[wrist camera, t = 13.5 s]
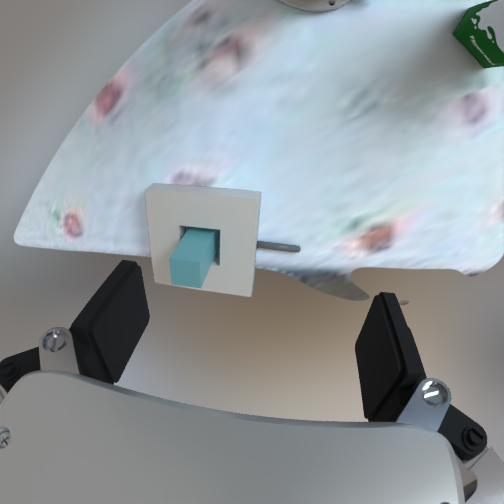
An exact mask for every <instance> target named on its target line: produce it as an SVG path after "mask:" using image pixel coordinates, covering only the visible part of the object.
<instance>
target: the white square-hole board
mask: <svg viewBox="0 0 504 504" xmlns="http://www.w3.org/2000/svg"><path fill="white" fill-rule="evenodd" d="M145 201H146V212H147V223H148V233H149V242H150V250H151V258H152V266H153V273H154V280H155V283H159V284H165V285H171V286H178V287H184V288H191V289H197V290H204V291H211V292H218V293H225V294H233V295H240V296H248V297H251V295H252V290H253V283H254V273H255V262H256V250H257V248H264V249H272V250H280V251H289V252H300V250H301V248H300V247H299V246H296V245H288V244H279V243H271V242H262V241H257V238H258V227H259V215H260V203H261V192H258V191H248V190H238V189H227V188H215V187H203V186H189V185H174V184H156V183H153V184H152V185H151V186H149V187H148V188H147V189H145ZM186 226H189V227H199V228H208V229H217V230H220V255H215V257H214V259H213V261H212V264H211V266H210V268H209V271H208V273H207V275H206V278H205V280H204V283H203V285H202V287H201V288H194V287H187V286H180V285H173V284H172V283H171V275H170V266H169V257H170V256H171V254H172V253H173V251H174V250H175V248H176V247H177V245H178V244H179V242H180V241H181V239H182V238H183V236H184V235H185V233H186Z"/></svg>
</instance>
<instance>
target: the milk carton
mask: <svg viewBox="0 0 504 504" xmlns="http://www.w3.org/2000/svg"><path fill="white" fill-rule="evenodd" d="M453 35H454V36H455V37H456V38H457V39H458V40H459V41H460V42H461V43H462V44H463V45H464V46H465V47H466V48H467V49H468V50H469V51H470V53H471V54H472V55H473V56H474V57H475V58H476V59H477V60H478V61H479V63H480V64H481V65H482V66H483V67H484V68H490V67H499V66H504V0H492V1H488V2H485V3H481V4H478V5H476V6H473V7H471V8H469V9H468V11H467V13H466V14H465V16H464V17H463V19H462V21H461V22H460V24H459V25H458V27H457V28H456V30H455V31H454V33H453Z"/></svg>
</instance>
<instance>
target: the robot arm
mask: <svg viewBox="0 0 504 504" xmlns="http://www.w3.org/2000/svg"><path fill="white" fill-rule="evenodd" d="M279 1H281V2H282V3H284V4H286V5H288V6H290V7H293V8H296V9H300V10H305V11H313V12H321V11H329V10H334V9H337V8H339V7H342V6H344V5H345V4H347V3H348V2H350V1H351V0H279ZM329 3H332V4H333V6H331V5H329ZM149 317H150V316H149V310H148V305H147V300H146V294H145V289H144V283H143V277H142V271H141V267H140V266H138V265H137V263H136V262H134V261H128V260H122V261H121V262H120V263H119V265H118V266H117V267H116V268H115V269H114V271H113V272H112V273H111V274H110V275H109V277H108V278H107V279H106V281H105V282H104V283H103V284H102V285H101V287H100V288H99V289H98V290H97V292H96V293H95V294H94V295H93V297H92V298H91V299H90V301H89V302H88V303H87V304H86V306H85V307H84V308H83V310H82V311H81V313H80V314H79V315H78V316H77V318H76V319H75V320H74V322H73V323H72V325H71V327H70V329H69V330H68V329H66V328H63V327H55V328H52V329H49V330H48V331H46V332H45V333H44V334H43V335H42V336H41V338H40V340H39V347H37V348H34V349H31V350H28V351H25V352H22V353H19V354H16V355H13V356H10V357H7V358H5V359H3V360H2V361H1V362H0V504H502V503H503V502H504V463H503V462H502V460H501V459H500V458H499V456H498V455H497V454H496V453H495V451H494V450H493V448H492V447H490V448H488V447H487V446H486V445H487V435H486V432H485V431H484V429H483V428H482V427H481V426H480V425H479V424H478V423H476V422H474V421H473V420H472V419H471V418H469V417H468V416H466V415H465V414H464V413H462V412H461V411H459V410H458V409H457V408H455V407H454V406H452V405H451V404H450V402H451V393H450V390H449V388H448V387H447V386H446V384H444V383H443V382H442V381H440V380H438V379H435V378H426V374H425V371H424V368H423V365H422V362H421V358H420V355H419V353H418V349H417V347H416V344H415V341H414V338H413V335H412V333H411V330H410V328H409V327H408V326H407V324H406V321H405V318H404V316H403V313H402V310H401V308H400V305H399V303H398V300H397V298H396V295H395V294H394V293H386V292H381V293H380V294H379V295H376V296H375V297H374V299H373V302H372V305H371V307H370V310H369V312H368V315H367V317H366V320H365V322H364V324H363V327H362V330H361V332H360V334H359V336H358V339H357V341H356V344H355V352H356V359H357V365H358V372H359V379H360V386H361V394H362V401H363V410H364V417H365V418H366V419H368V422H337V421H311V420H309V421H308V420H294V419H283V418H273V417H263V416H255V415H247V414H240V413H234V412H227V411H221V410H215V409H210V408H204V407H199V406H194V405H189V404H185V403H180V402H176V401H171V400H167V399H163V398H159V397H154V396H151V395H147V394H143V393H140V392H136V391H133V390H129V389H126V388H122V387H119V386H115V385H113V384H114V382H115V383H117V382H118V381H119V379H120V377H121V375H122V373H123V371H124V369H125V367H126V365H127V362H128V361H129V359H130V357H131V355H132V353H133V351H134V349H135V347H136V345H137V343H138V342H139V340H140V338H141V336H142V334H143V332H144V330H145V328H146V326H147V324H148V322H149Z"/></svg>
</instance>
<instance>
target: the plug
mask: <svg viewBox="0 0 504 504" xmlns="http://www.w3.org/2000/svg"><path fill="white" fill-rule="evenodd" d="M217 250H218V230H217V229H208V228H199V227H189V229H188V230H187V232H186V233H185V235H184V236H183V238H182V239H181V241H180V242H179V244H178V245H177V247H176V248H175V250H174V251H173V253H172V254H171V256H170V257H169V266H170V275H171V283H172V284H173V285H180V286H187V287H194V288H201V287H202V285H203V283H204V280H205V278H206V275H207V273H208V271H209V268H210V266H211V264H212V261H213V259H214V257H215V254H216V252H217Z"/></svg>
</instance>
